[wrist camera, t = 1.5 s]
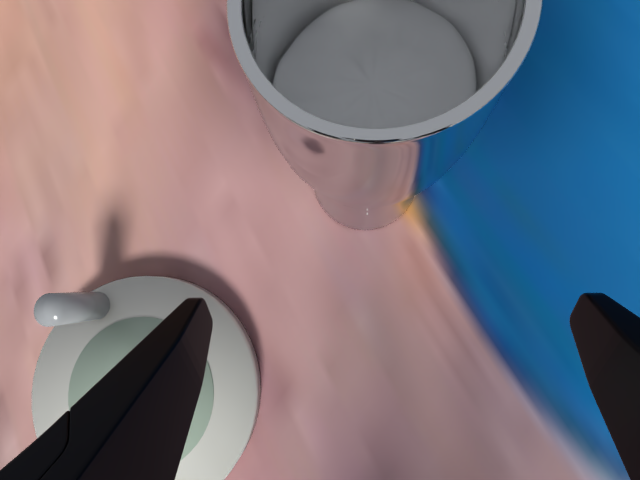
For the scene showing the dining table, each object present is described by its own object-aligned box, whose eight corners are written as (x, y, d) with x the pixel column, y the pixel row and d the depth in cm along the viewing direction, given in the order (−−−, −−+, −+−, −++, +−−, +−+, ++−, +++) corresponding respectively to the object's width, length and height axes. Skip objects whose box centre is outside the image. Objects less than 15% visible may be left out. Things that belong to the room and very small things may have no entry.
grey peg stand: (302, 433, 22) (287, 475, 17) (106, 549, 22) (39, 621, 17) (194, 236, 23) (153, 224, 19) (14, 346, 24) (-69, 361, 19)
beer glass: (282, 182, 23) (151, 9, 8) (362, 99, 23) (371, -217, 9) (367, 263, 22) (387, 226, 8) (450, 175, 22) (634, -33, 8)
